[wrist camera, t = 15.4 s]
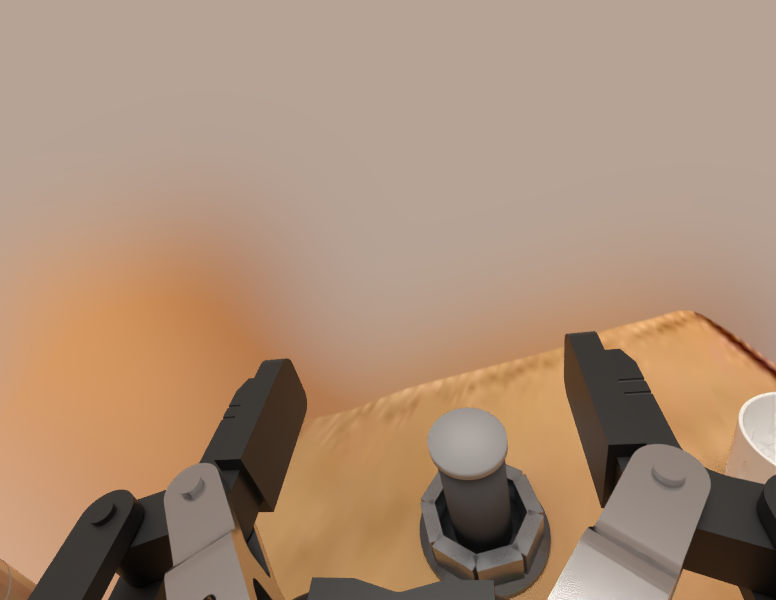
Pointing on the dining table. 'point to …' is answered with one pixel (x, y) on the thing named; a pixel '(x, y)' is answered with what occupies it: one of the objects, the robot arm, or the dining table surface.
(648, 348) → the dining table surface
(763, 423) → the white cup
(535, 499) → the octagonal ring holder
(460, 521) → the white-topped grey cylinder
